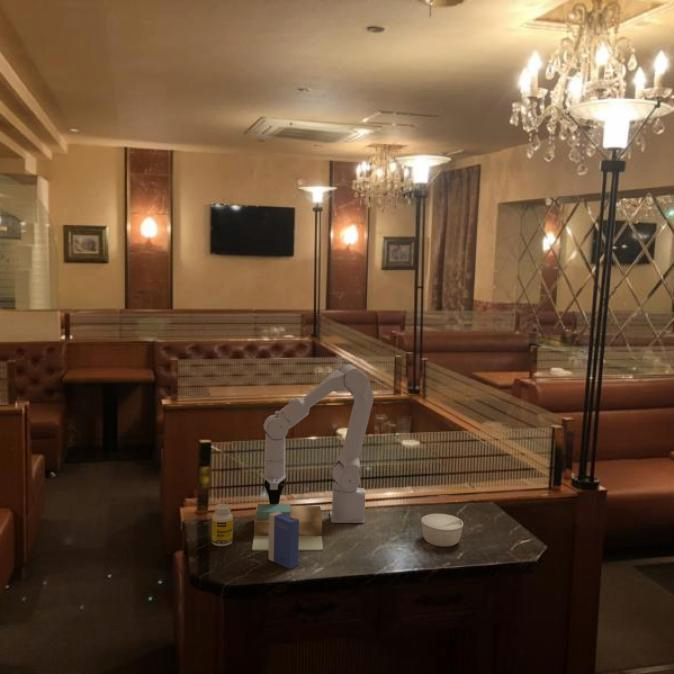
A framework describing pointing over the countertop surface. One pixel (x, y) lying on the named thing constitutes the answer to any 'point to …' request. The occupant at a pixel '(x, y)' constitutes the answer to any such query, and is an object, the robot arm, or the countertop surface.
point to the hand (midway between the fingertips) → (274, 506)
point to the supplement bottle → (222, 525)
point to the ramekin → (441, 529)
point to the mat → (304, 545)
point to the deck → (306, 514)
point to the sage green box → (272, 510)
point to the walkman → (283, 539)
